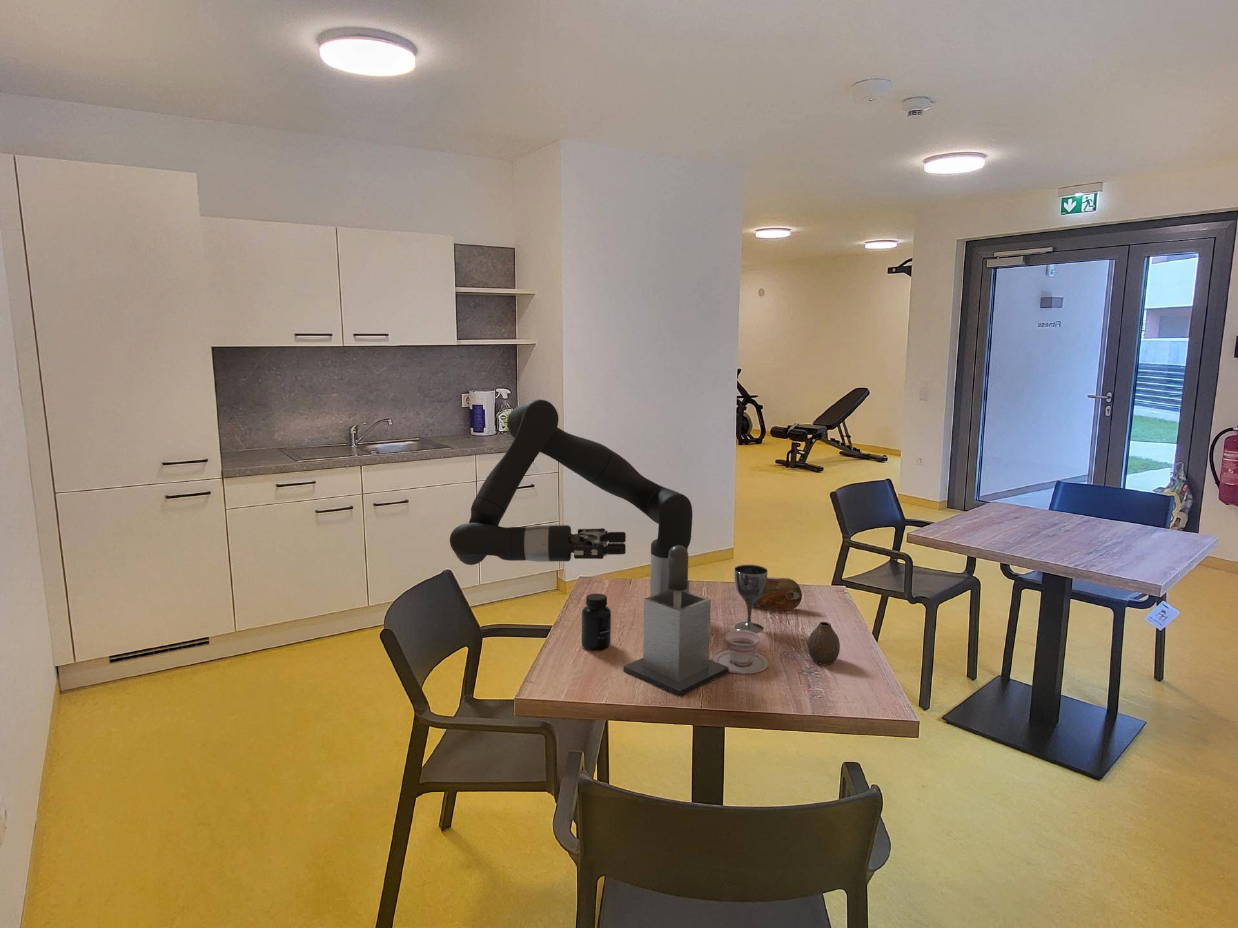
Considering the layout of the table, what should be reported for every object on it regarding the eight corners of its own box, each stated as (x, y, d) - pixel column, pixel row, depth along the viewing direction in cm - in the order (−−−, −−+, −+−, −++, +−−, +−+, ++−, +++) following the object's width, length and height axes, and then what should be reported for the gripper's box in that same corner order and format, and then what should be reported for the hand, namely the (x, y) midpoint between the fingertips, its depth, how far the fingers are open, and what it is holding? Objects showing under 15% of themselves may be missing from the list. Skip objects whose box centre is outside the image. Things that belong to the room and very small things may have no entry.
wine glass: (729, 630, 185) (731, 572, 182) (736, 619, 192) (738, 563, 190) (761, 635, 182) (763, 576, 179) (767, 624, 189) (770, 566, 187)
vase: (839, 656, 170) (842, 620, 169) (838, 669, 164) (840, 631, 162) (808, 652, 173) (810, 616, 171) (805, 664, 166) (807, 627, 165)
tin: (743, 607, 201) (744, 577, 200) (744, 603, 204) (745, 573, 203) (801, 612, 198) (802, 581, 196) (801, 608, 201) (802, 577, 199)
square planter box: (672, 650, 173) (674, 581, 171) (728, 672, 162) (730, 599, 159) (623, 671, 162) (623, 598, 159) (679, 696, 151) (681, 618, 148)
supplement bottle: (607, 653, 172) (607, 602, 170) (578, 650, 173) (578, 600, 171) (613, 641, 178) (613, 592, 176) (585, 638, 180) (585, 590, 178)
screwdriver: (674, 647, 167) (676, 538, 163) (701, 658, 162) (704, 545, 157) (650, 657, 162) (652, 545, 157) (677, 669, 156) (680, 553, 152)
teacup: (763, 678, 160) (764, 651, 158) (707, 669, 164) (708, 643, 163) (772, 656, 171) (773, 630, 170) (720, 648, 175) (720, 623, 174)
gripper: (544, 535, 150) (625, 534, 150) (550, 517, 164) (625, 516, 164) (545, 571, 151) (626, 570, 151) (551, 550, 165) (625, 550, 165)
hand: (625, 542), depth 157 cm, fingers open, 8 cm apart
